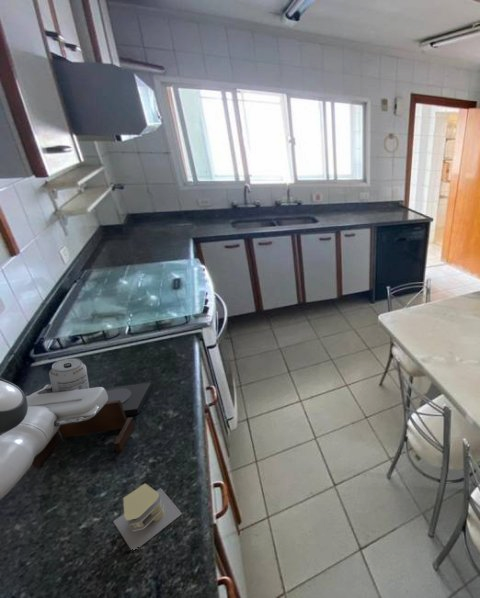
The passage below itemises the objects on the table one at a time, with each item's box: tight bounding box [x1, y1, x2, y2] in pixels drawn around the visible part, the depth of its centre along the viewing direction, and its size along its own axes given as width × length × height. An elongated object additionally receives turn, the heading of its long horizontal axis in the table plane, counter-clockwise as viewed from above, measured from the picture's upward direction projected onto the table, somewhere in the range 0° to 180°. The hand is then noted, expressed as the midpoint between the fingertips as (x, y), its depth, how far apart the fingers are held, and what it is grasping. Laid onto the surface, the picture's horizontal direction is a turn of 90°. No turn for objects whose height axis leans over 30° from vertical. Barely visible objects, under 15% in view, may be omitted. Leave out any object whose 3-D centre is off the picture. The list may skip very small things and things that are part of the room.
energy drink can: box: [48, 357, 90, 393], centre depth 77 cm, size 6×6×15 cm
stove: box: [103, 381, 153, 417], centre depth 96 cm, size 16×12×4 cm
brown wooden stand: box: [32, 400, 136, 468], centre depth 82 cm, size 17×10×9 cm, turn 109°
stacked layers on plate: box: [112, 483, 183, 551], centre depth 68 cm, size 10×9×6 cm
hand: (64, 385), depth 77 cm, fingers closed on energy drink can, 3 cm apart
